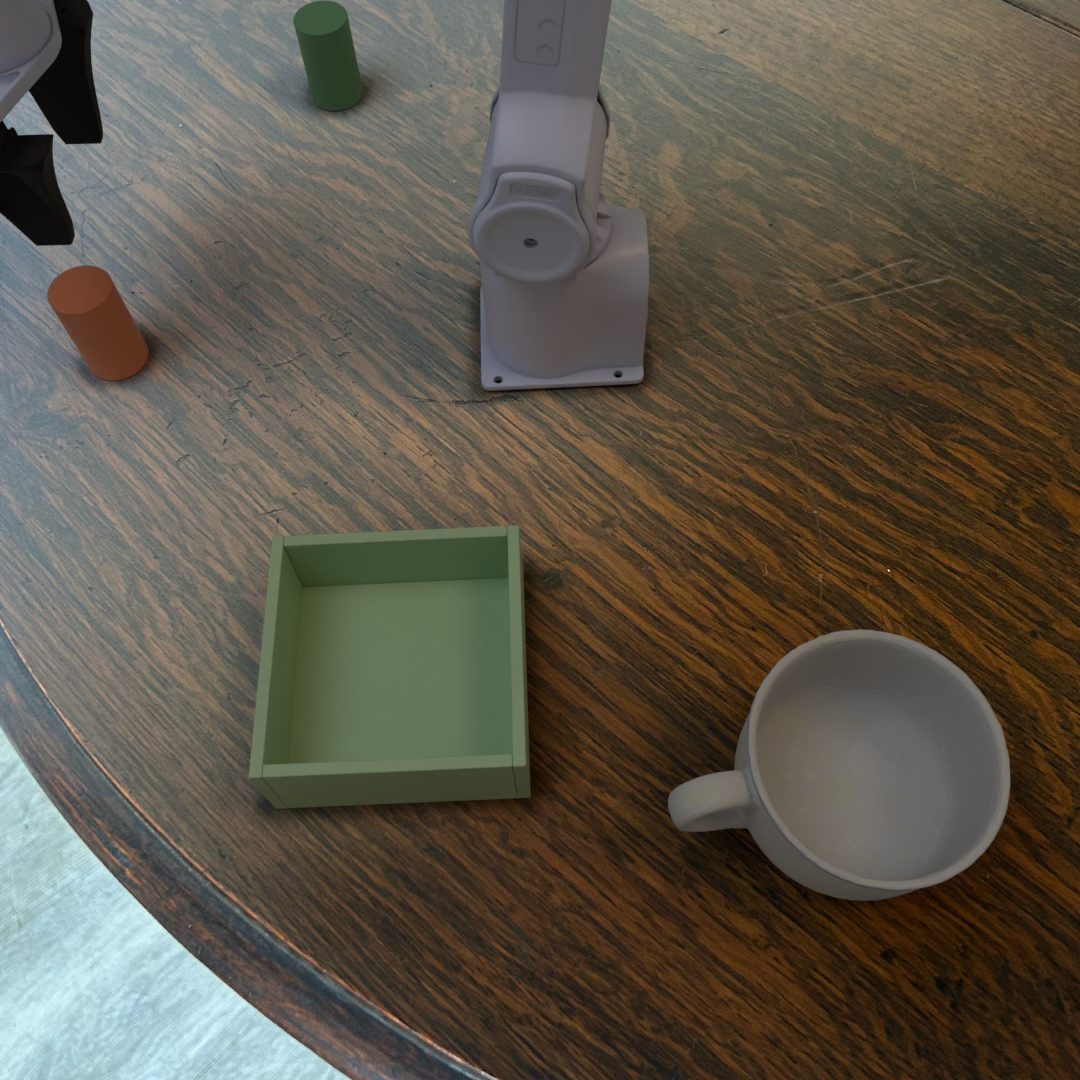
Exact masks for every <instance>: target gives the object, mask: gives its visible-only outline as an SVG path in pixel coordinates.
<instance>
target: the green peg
mask: <svg viewBox="0 0 1080 1080" xmlns="http://www.w3.org/2000/svg"><path fill="white" fill-rule="evenodd" d="M292 21H293V22H292V23H293V27H294V30H295V35H296V38H297V41H298V42H297V43H298V46H299V51H300V54H301V59H302V62H303V66H304V70H305V74H306V78H307V82H308V87H309V89H310V90H309V91H310V93H311V98H312V101H313V102H314V104H315V105H316V106H317V107H318V108H319V109H322V110H325V111H329V112H340V111H341V112H342V111H345V110H349V109H350V108H352V107H354V106H356V105H357V104H358V103H359V102H360V101H361V99H362V98H363V95H364V88H363V84H362V79H361V73H360V70H359V63H358V58H357V54H356V49H355V45H354V39H353V33H352V29H351V25H350V19H349V14H348V11H347V9H346V8H345V7H344V6H343V5H342V4H340V3H339V2H336V1H332V0H315V1H312V2H309V3H307V4H304V5H302V6H301V7H300V8H298V10H297V11H295V14H294V16H293V20H292Z"/></svg>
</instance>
